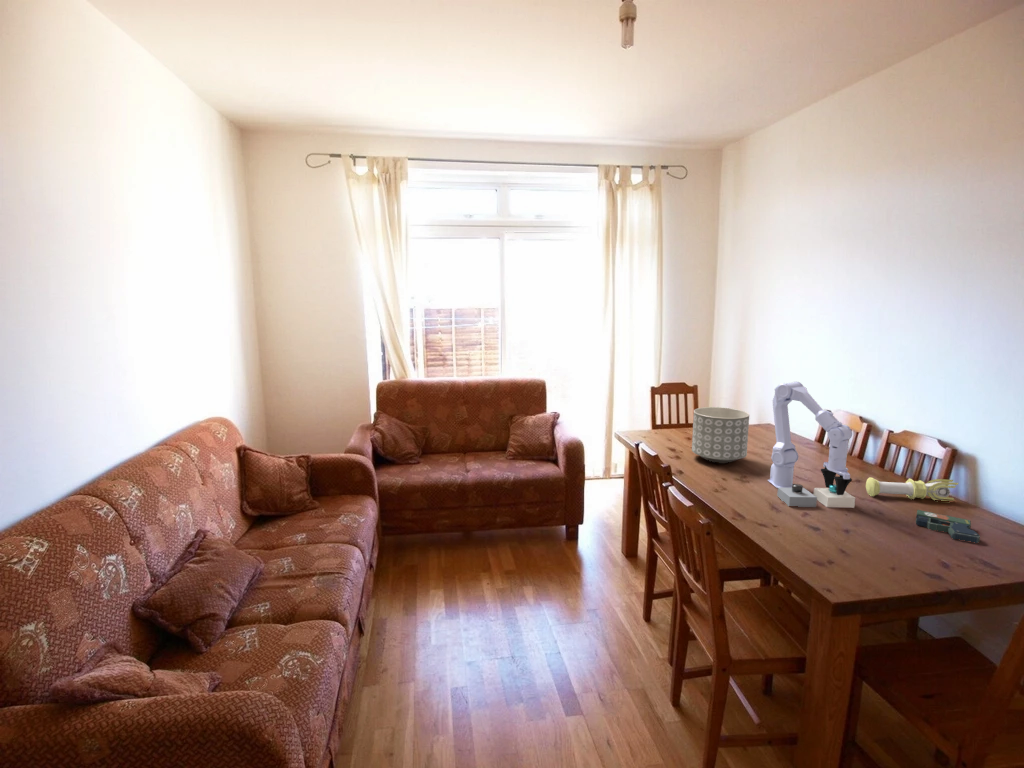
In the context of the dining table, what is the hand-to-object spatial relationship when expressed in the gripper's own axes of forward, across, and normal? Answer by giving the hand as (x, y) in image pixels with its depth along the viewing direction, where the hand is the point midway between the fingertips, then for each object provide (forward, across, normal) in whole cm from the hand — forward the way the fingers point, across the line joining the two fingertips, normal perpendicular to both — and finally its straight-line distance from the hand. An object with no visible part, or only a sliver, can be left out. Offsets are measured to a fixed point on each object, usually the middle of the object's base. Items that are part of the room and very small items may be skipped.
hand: (834, 490), depth 199 cm
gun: (+5, -24, -24) cm, 34 cm away
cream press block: (+5, 0, 0) cm, 5 cm away
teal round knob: (+4, 0, 0) cm, 4 cm away
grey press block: (+5, 0, +14) cm, 15 cm away
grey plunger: (+4, 0, +14) cm, 15 cm away
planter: (+5, +53, +26) cm, 59 cm away
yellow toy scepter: (+5, +6, -32) cm, 33 cm away
